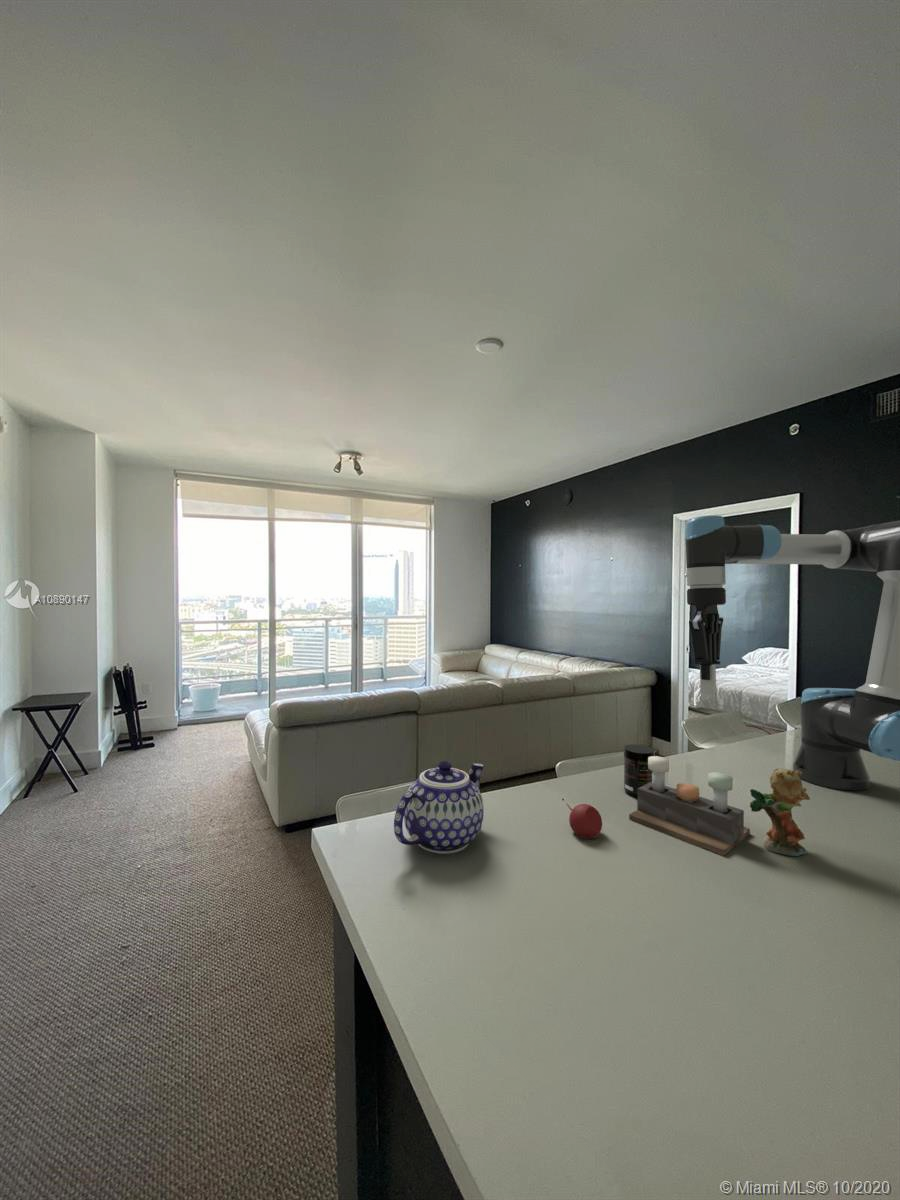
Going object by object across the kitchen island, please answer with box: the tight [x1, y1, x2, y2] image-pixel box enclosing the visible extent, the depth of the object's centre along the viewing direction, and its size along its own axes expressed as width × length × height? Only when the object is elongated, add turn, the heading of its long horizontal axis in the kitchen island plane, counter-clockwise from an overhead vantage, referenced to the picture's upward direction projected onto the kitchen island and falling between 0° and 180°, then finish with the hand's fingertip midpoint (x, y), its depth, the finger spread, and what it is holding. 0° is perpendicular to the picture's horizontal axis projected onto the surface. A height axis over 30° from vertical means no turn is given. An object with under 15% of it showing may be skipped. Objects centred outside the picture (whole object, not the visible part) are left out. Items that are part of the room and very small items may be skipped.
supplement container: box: [623, 744, 656, 798], centre depth 110 cm, size 7×7×10 cm
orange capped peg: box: [676, 782, 700, 804], centre depth 94 cm, size 4×4×6 cm
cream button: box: [648, 755, 670, 793], centre depth 99 cm, size 4×4×6 cm
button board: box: [628, 782, 751, 857], centre depth 94 cm, size 12×18×6 cm
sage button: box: [707, 771, 733, 813], centre depth 89 cm, size 4×4×6 cm
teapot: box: [393, 760, 485, 855], centre depth 88 cm, size 25×15×15 cm, turn 138°
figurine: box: [749, 767, 811, 857], centre depth 86 cm, size 9×8×15 cm
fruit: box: [561, 798, 603, 839], centre depth 92 cm, size 6×6×8 cm
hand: (708, 694), depth 104 cm, fingers closed
